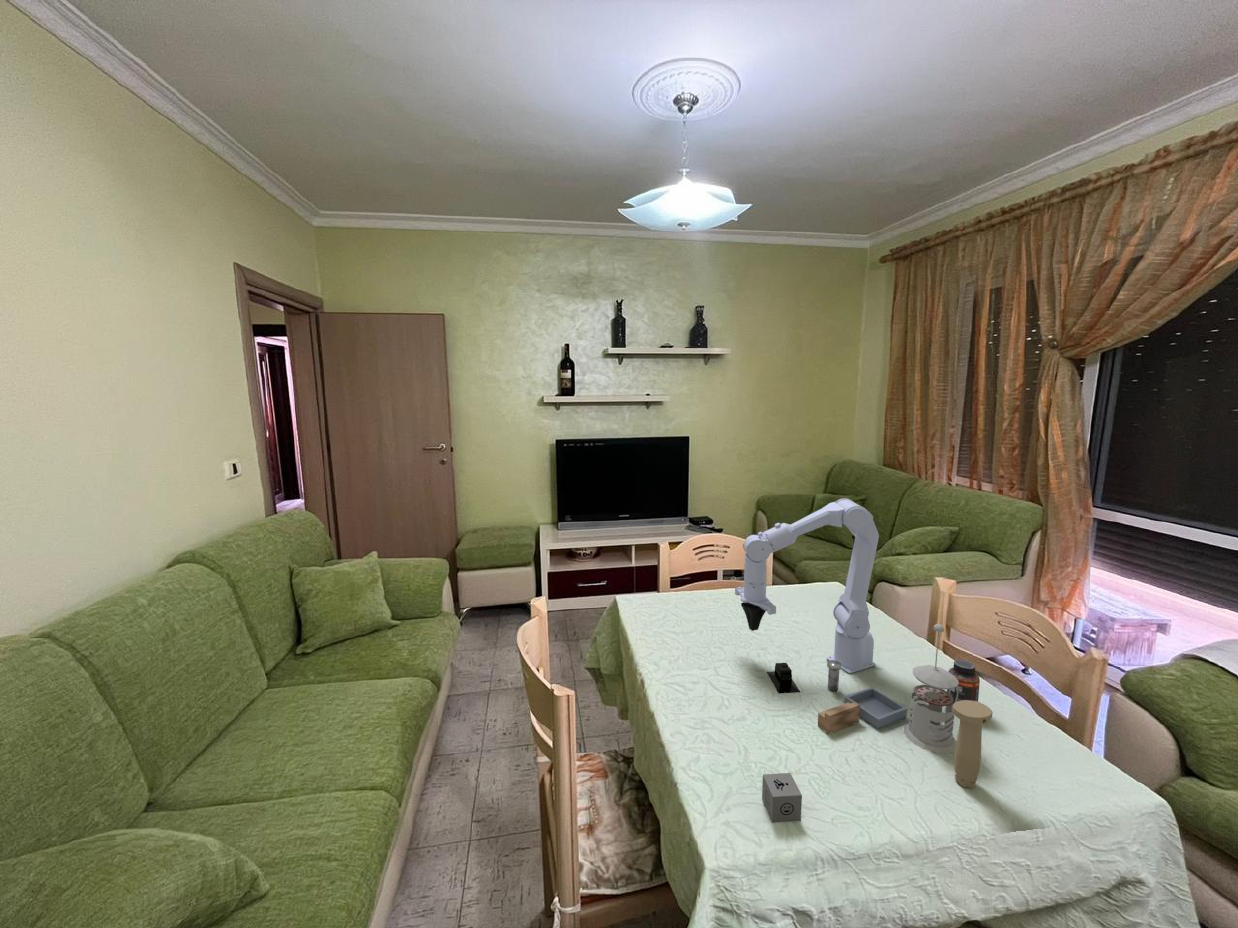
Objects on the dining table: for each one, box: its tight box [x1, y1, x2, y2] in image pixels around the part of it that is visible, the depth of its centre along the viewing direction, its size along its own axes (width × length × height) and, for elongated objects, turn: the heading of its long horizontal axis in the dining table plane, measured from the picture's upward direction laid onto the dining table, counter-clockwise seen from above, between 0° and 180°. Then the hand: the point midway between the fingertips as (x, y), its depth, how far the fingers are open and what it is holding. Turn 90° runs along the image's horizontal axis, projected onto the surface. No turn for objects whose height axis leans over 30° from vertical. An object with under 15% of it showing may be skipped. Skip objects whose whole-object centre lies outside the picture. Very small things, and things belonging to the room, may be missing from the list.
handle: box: [952, 700, 994, 789], centre depth 92 cm, size 5×6×15 cm
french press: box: [903, 623, 959, 754], centre depth 104 cm, size 10×12×25 cm
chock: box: [817, 702, 860, 735], centre depth 109 cm, size 9×3×4 cm, turn 114°
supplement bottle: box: [946, 658, 981, 703], centre depth 113 cm, size 6×6×11 cm
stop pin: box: [826, 660, 842, 693], centre depth 122 cm, size 3×3×7 cm
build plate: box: [766, 662, 802, 695], centre depth 126 cm, size 12×7×5 cm, turn 2°
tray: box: [843, 686, 908, 731], centre depth 113 cm, size 9×9×2 cm
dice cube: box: [761, 772, 803, 824], centre depth 87 cm, size 5×5×5 cm
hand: (753, 629), depth 135 cm, fingers closed
